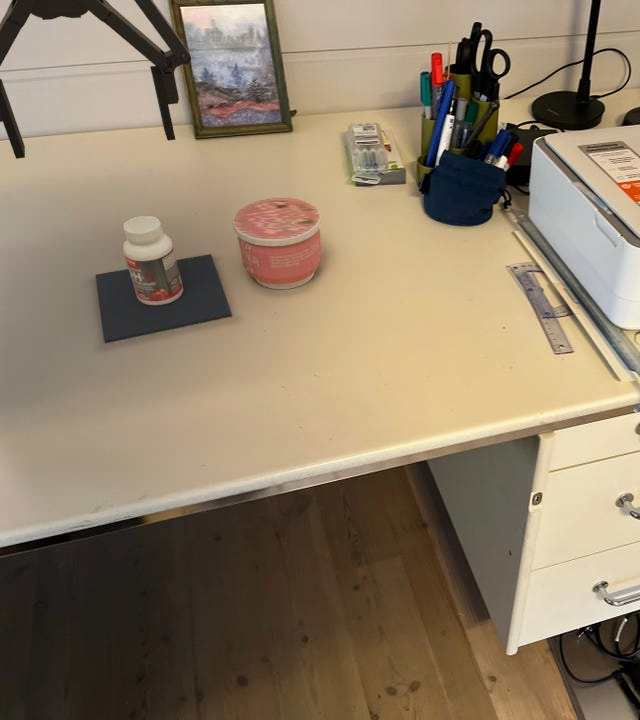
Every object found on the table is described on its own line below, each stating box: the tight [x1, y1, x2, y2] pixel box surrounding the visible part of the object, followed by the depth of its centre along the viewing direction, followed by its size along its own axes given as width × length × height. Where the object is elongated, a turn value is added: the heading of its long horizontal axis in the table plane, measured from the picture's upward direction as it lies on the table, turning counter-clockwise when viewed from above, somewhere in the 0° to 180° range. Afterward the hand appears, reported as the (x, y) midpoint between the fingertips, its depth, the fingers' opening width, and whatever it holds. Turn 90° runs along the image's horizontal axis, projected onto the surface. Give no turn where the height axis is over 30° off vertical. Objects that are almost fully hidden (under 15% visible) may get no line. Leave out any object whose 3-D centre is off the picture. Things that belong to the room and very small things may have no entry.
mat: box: [95, 253, 233, 344], centre depth 92 cm, size 14×14×1 cm
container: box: [232, 197, 322, 290], centre depth 94 cm, size 10×10×8 cm
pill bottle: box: [122, 215, 183, 306], centre depth 88 cm, size 5×5×10 cm
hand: (97, 143), depth 74 cm, fingers open, 13 cm apart
